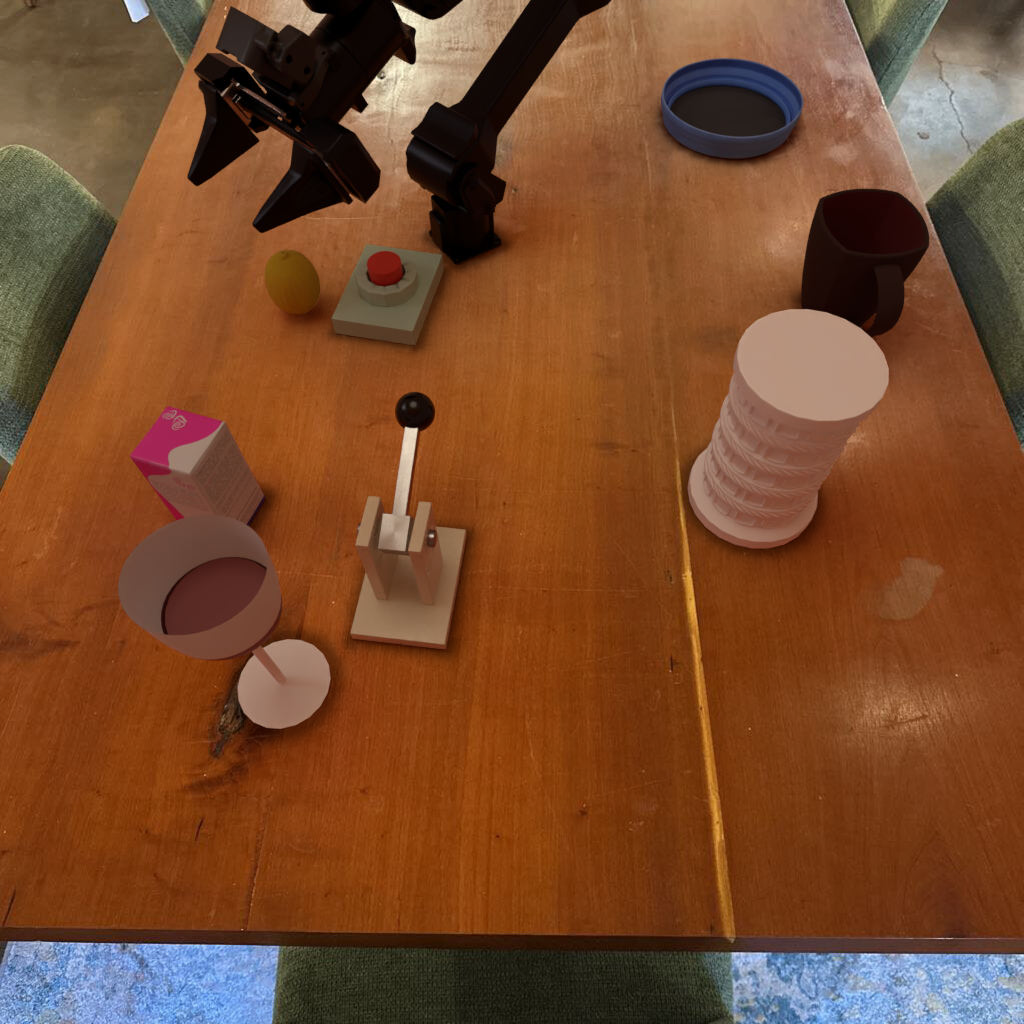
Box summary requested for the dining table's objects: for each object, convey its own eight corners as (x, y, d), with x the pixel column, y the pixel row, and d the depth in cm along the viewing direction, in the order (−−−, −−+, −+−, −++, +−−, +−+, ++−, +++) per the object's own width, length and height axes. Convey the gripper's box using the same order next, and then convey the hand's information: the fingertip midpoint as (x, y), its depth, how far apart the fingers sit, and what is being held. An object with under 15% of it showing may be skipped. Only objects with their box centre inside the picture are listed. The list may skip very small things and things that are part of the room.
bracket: (380, 526, 70) (358, 458, 61) (466, 535, 69) (458, 468, 60) (352, 638, 64) (323, 582, 55) (446, 650, 64) (432, 595, 54)
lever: (402, 398, 63) (394, 384, 60) (440, 401, 63) (434, 387, 59) (378, 553, 60) (369, 547, 57) (418, 557, 60) (411, 551, 57)
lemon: (318, 332, 82) (299, 274, 76) (269, 325, 83) (246, 267, 76) (334, 297, 85) (317, 238, 78) (287, 290, 86) (267, 231, 79)
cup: (859, 278, 86) (905, 184, 75) (904, 372, 78) (961, 282, 68) (772, 285, 85) (806, 191, 75) (809, 380, 78) (852, 290, 68)
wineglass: (235, 641, 64) (130, 520, 47) (339, 632, 64) (272, 509, 47) (225, 736, 60) (106, 641, 43) (335, 726, 60) (261, 628, 43)
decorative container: (661, 485, 72) (698, 352, 56) (747, 424, 75) (805, 283, 60) (752, 572, 67) (820, 453, 51) (840, 503, 70) (928, 372, 55)
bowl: (815, 108, 103) (824, 81, 100) (762, 180, 95) (770, 154, 92) (693, 69, 108) (698, 43, 105) (634, 135, 100) (637, 108, 97)
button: (375, 261, 83) (372, 248, 81) (407, 266, 82) (405, 253, 81) (365, 284, 81) (362, 271, 80) (397, 289, 81) (395, 276, 79)
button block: (369, 259, 88) (363, 230, 85) (444, 269, 87) (441, 241, 84) (335, 333, 82) (327, 305, 79) (415, 345, 81) (410, 318, 78)
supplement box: (268, 496, 72) (227, 420, 62) (236, 548, 69) (188, 478, 59) (214, 479, 73) (165, 402, 63) (180, 530, 70) (124, 458, 60)
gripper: (212, -65, 59) (86, 90, 59) (369, 13, 52) (226, 190, 52) (292, 50, 70) (185, 182, 69) (432, 128, 63) (313, 276, 62)
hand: (223, 205), depth 63 cm, fingers open, 9 cm apart
